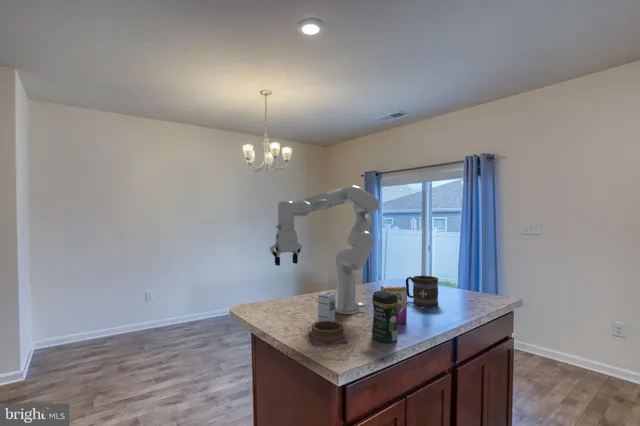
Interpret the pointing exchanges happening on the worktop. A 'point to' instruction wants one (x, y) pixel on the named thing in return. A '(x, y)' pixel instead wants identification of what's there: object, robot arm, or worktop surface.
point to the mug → (424, 291)
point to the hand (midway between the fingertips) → (286, 264)
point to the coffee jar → (384, 316)
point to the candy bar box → (399, 301)
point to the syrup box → (326, 307)
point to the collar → (327, 333)
